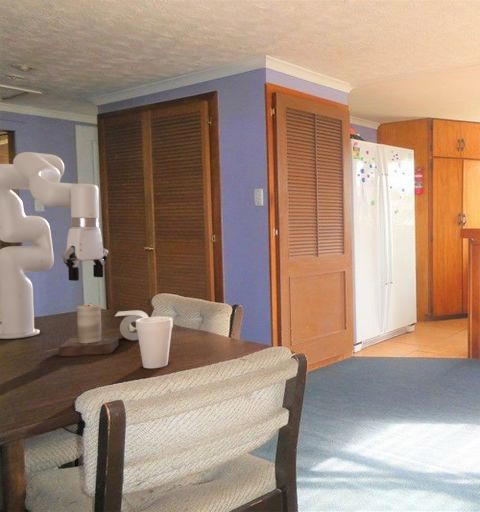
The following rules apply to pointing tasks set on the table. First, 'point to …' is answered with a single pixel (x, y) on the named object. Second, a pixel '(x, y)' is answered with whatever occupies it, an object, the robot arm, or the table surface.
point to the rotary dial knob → (89, 323)
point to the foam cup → (154, 340)
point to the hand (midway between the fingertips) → (86, 278)
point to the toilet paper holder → (126, 326)
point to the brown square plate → (88, 346)
